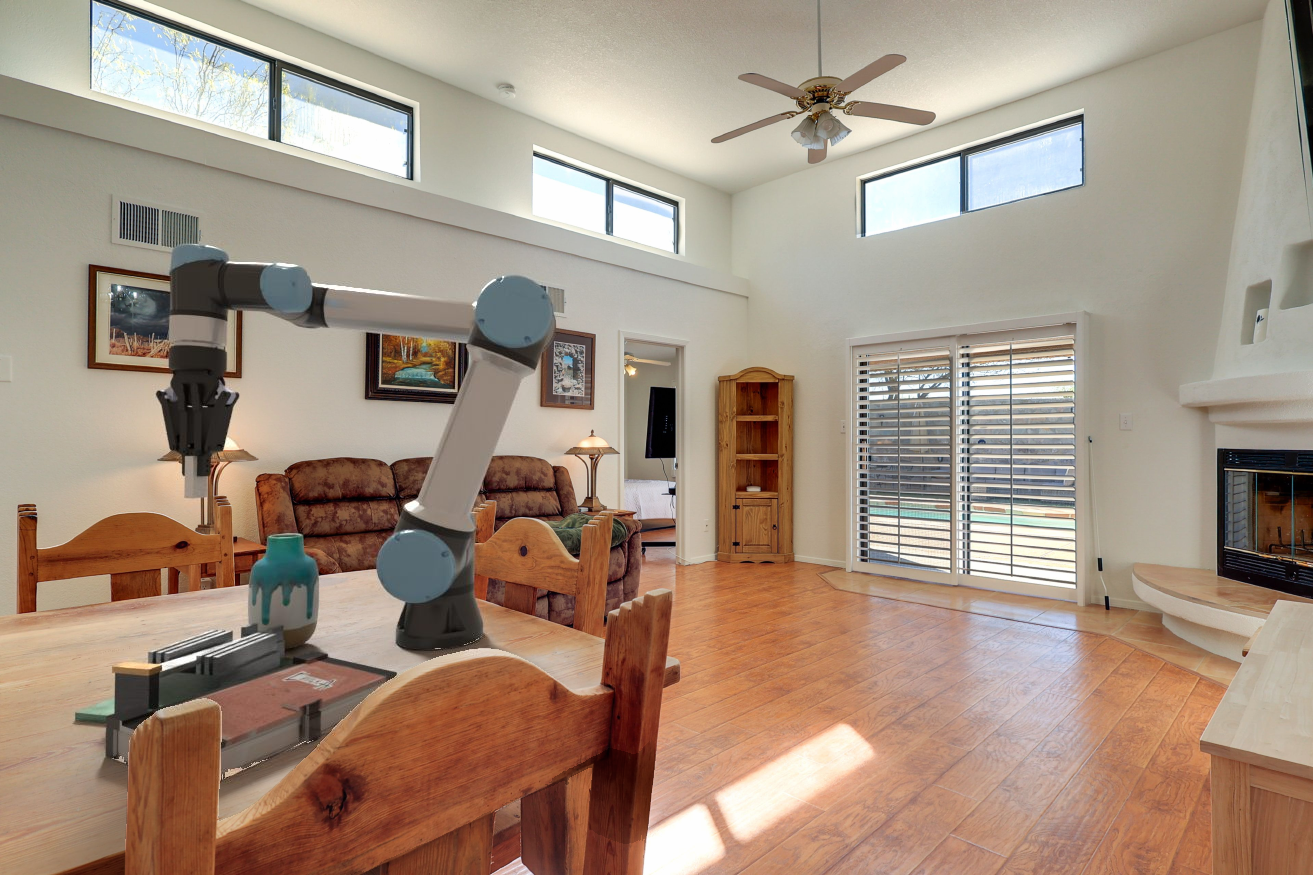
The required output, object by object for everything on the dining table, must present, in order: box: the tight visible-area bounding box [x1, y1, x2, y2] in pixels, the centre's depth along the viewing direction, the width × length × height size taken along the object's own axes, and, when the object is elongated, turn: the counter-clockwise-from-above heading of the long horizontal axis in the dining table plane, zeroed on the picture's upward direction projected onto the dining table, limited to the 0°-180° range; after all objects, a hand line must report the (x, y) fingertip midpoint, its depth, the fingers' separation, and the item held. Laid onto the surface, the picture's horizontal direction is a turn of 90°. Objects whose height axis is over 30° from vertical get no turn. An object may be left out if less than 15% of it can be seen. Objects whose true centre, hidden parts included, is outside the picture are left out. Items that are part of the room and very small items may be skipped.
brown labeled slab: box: [105, 650, 398, 782], centre depth 83 cm, size 26×18×5 cm
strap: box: [159, 637, 245, 678], centre depth 95 cm, size 3×20×1 cm, turn 170°
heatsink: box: [74, 623, 293, 725], centre depth 94 cm, size 15×24×7 cm, turn 170°
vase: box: [247, 533, 320, 650], centre depth 114 cm, size 11×11×19 cm
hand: (195, 497), depth 104 cm, fingers closed
